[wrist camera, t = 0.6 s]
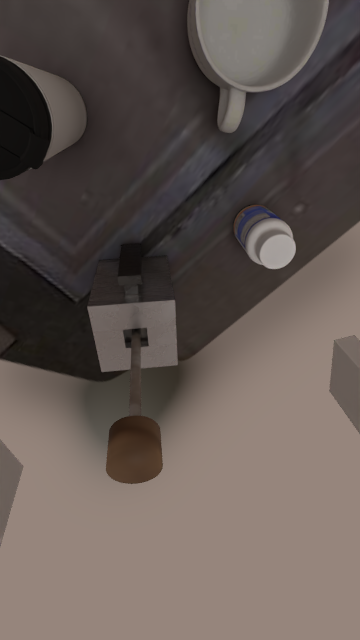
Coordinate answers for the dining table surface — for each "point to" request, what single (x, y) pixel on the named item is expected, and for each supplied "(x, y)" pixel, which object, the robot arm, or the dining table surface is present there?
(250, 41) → the teacup
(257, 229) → the pill bottle
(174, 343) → the grey block with hole
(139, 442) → the plunger
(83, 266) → the dining table surface
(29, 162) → the travel mug
